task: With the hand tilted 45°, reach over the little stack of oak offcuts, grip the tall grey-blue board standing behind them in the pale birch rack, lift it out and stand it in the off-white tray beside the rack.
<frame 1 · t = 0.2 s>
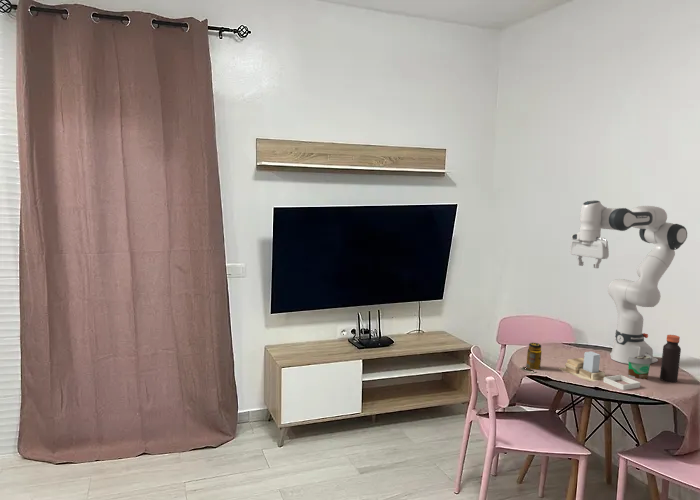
hand: (588, 266, 263), 47 cm above the table, tool pointing down, fingers open, 8 cm apart
food container: (641, 379, 256), on the table
tray: (621, 386, 245), on the table
condiment: (531, 370, 263), on the table
offcut stack: (578, 370, 261), point 1 cm above the table, touching rack
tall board: (590, 375, 255), point 1 cm above the table, touching rack
bottle: (668, 380, 256), on the table
rack: (584, 375, 258), on the table
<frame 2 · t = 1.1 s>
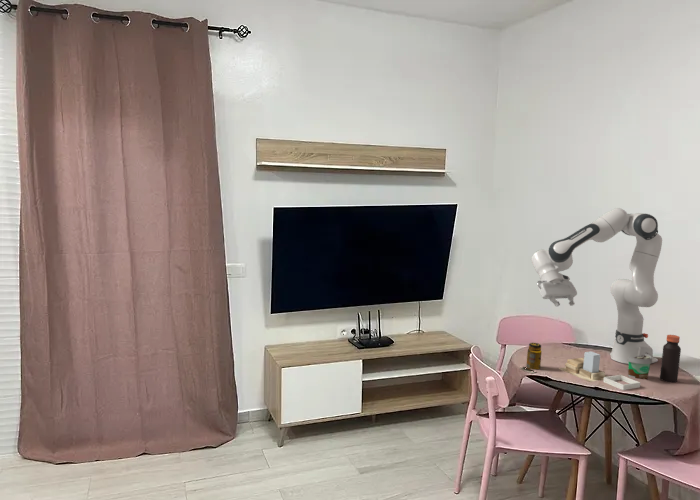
hand: (565, 305, 267), 29 cm above the table, tool tilted 45°, fingers open, 8 cm apart
nothing on the table moved.
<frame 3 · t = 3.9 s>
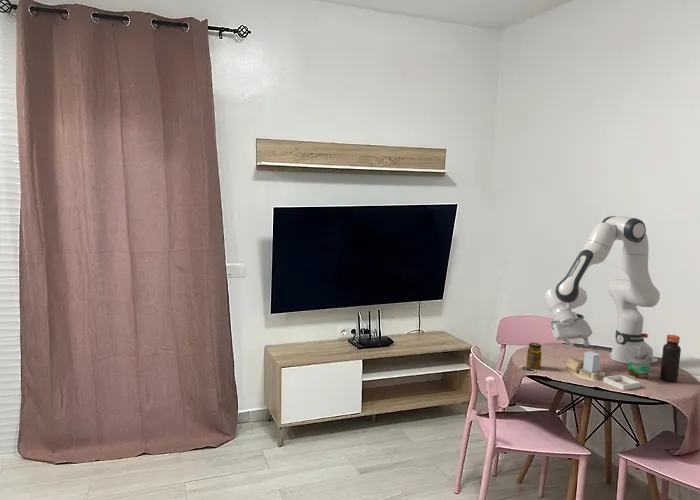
hand: (579, 346, 260), 12 cm above the table, tool tilted 45°, fingers open, 8 cm apart
nothing on the table moved.
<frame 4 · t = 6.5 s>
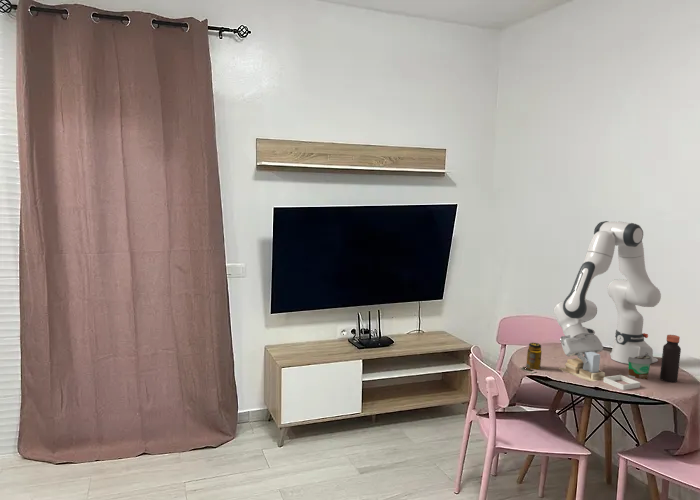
hand: (590, 362, 254), 7 cm above the table, tool tilted 45°, fingers closed on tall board, 4 cm apart
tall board: (590, 375, 255), point 1 cm above the table, touching gripper, rack
everything else where it was.
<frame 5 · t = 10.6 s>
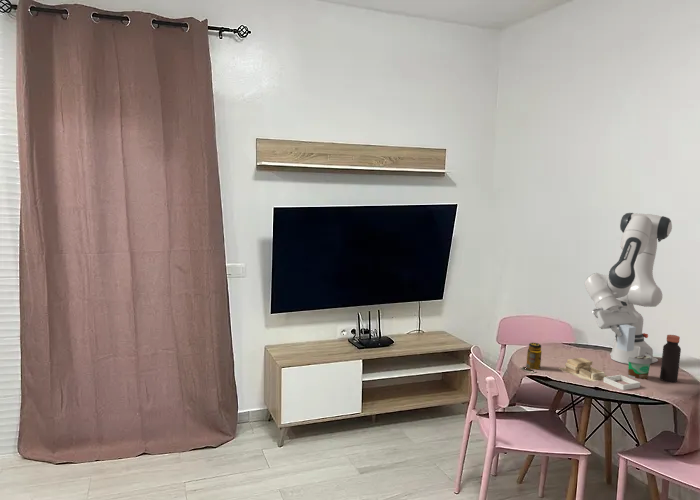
hand: (625, 335, 242), 22 cm above the table, tool tilted 45°, fingers closed on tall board, 4 cm apart
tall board: (625, 349, 243), point 16 cm above the table, touching gripper
everything else where it was.
when the fingers open (7 cm above the table, at t = 14.5 s): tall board stays where it is, resting on tray.
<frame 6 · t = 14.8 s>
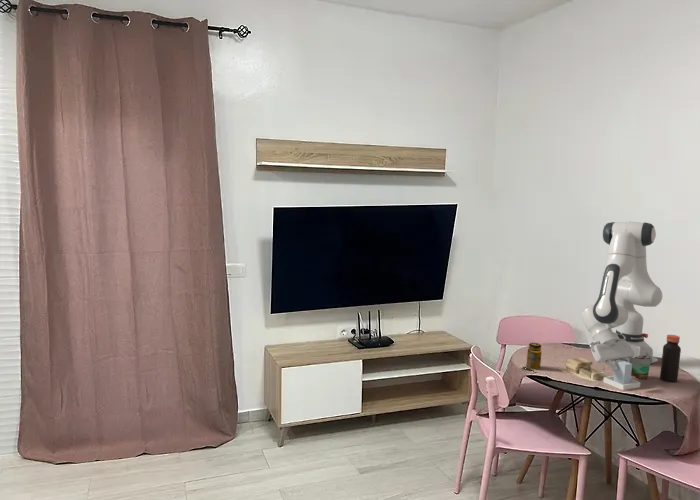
hand: (622, 369, 244), 7 cm above the table, tool tilted 45°, fingers open, 6 cm apart
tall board: (621, 385, 245), point 1 cm above the table, touching tray
everything else where it was.
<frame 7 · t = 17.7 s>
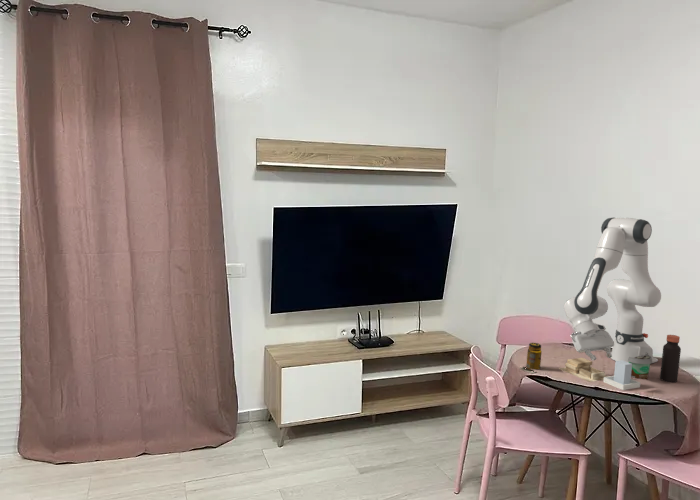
hand: (602, 358, 254), 9 cm above the table, tool tilted 45°, fingers open, 8 cm apart
nothing on the table moved.
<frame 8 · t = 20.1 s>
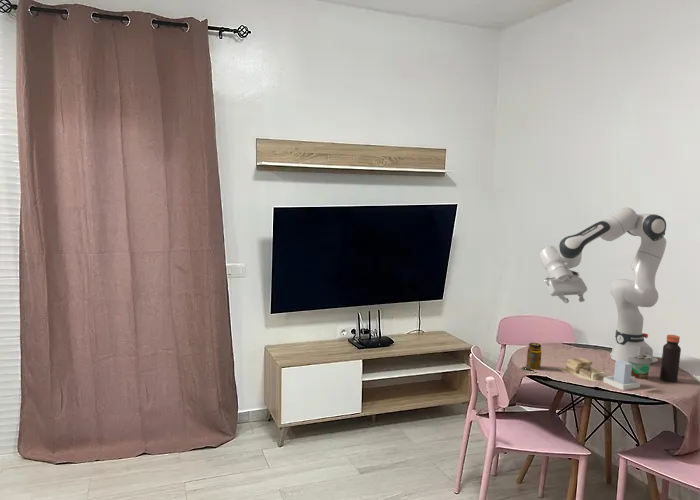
hand: (574, 302, 262), 31 cm above the table, tool tilted 45°, fingers open, 8 cm apart
nothing on the table moved.
at the end: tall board 0.1 cm off-centre on the tray, point 0.6 cm above the tray's base; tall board tilted 0°; the gripper is holding nothing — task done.
